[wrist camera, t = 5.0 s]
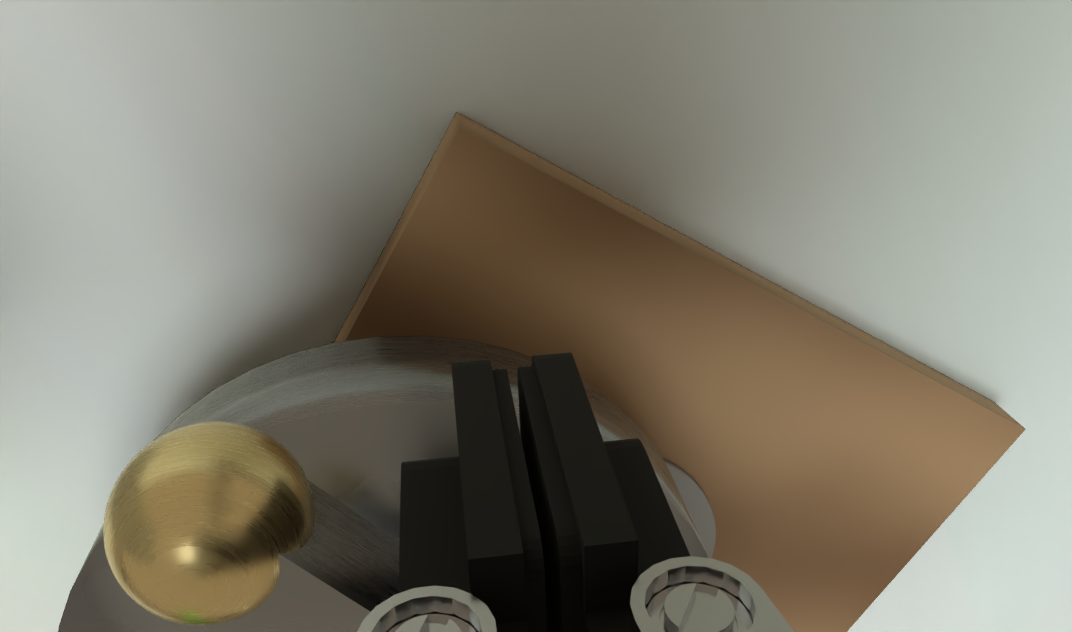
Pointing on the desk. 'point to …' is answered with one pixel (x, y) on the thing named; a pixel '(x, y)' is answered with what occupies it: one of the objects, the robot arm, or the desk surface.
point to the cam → (292, 492)
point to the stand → (695, 371)
